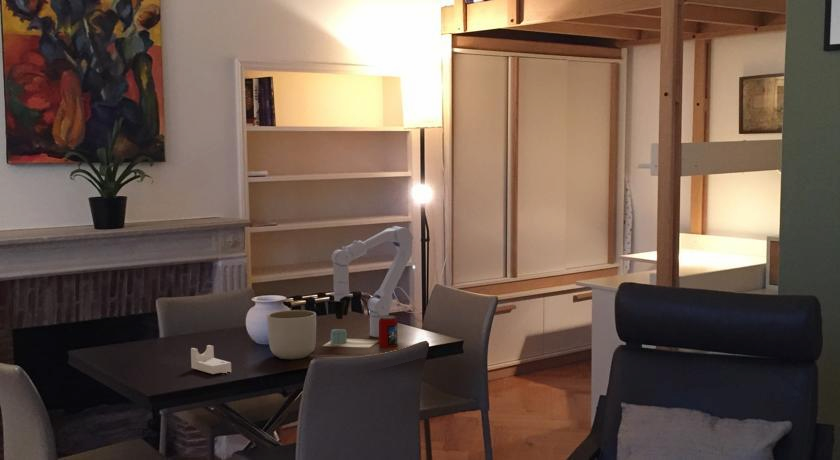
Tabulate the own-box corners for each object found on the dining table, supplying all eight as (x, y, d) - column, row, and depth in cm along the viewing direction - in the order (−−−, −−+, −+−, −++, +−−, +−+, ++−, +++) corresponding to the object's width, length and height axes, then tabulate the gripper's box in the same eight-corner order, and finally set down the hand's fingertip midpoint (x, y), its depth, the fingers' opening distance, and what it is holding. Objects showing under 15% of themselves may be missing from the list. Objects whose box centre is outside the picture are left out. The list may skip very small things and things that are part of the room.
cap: (342, 340, 358) (342, 328, 358) (348, 342, 353) (348, 330, 353) (329, 341, 356) (328, 329, 355) (334, 344, 351) (334, 332, 350)
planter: (280, 364, 325) (279, 320, 324) (260, 355, 339) (259, 313, 338) (325, 357, 334) (324, 315, 333) (304, 349, 348) (303, 308, 347)
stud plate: (334, 341, 362) (334, 330, 362) (380, 343, 358) (380, 332, 358) (322, 348, 349) (322, 337, 348) (369, 350, 344) (369, 339, 344)
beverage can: (395, 351, 343) (394, 318, 342) (377, 350, 344) (376, 318, 343) (399, 347, 349) (399, 315, 348) (381, 347, 351) (381, 314, 350)
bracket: (191, 370, 319) (190, 348, 318) (210, 366, 324) (209, 345, 323) (212, 376, 310) (211, 354, 309) (231, 373, 314) (230, 350, 314)
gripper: (335, 278, 367) (336, 313, 369) (326, 284, 353) (326, 320, 354) (353, 278, 366) (354, 313, 367) (344, 284, 352) (345, 320, 353)
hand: (341, 317), depth 361 cm, fingers open, 7 cm apart
